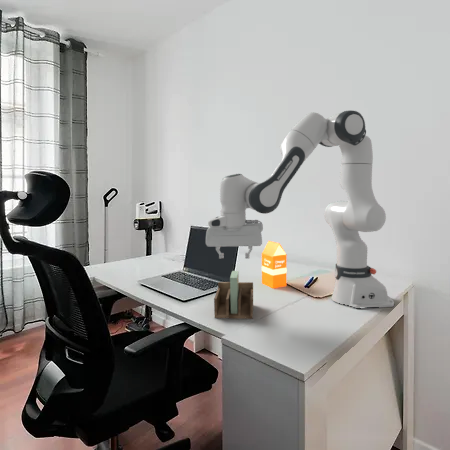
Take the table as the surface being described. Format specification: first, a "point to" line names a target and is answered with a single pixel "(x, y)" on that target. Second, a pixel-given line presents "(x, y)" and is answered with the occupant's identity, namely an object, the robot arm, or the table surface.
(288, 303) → the table surface
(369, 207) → the robot arm
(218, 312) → the file sorter
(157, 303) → the table surface
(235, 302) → the board
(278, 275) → the orange juice
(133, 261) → the table surface
